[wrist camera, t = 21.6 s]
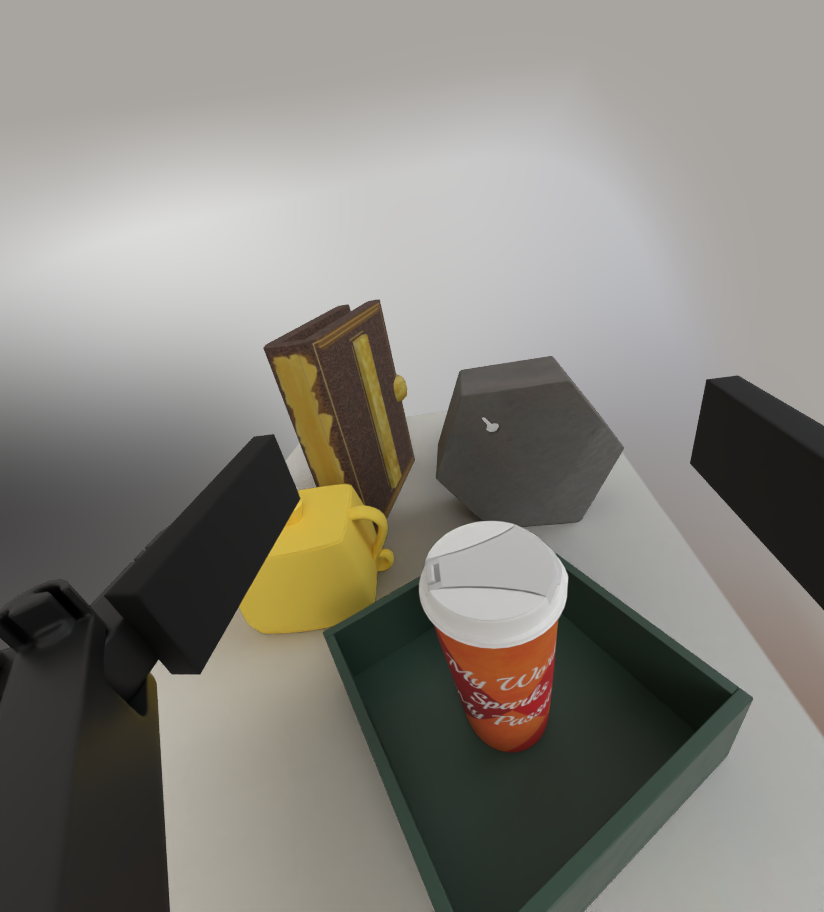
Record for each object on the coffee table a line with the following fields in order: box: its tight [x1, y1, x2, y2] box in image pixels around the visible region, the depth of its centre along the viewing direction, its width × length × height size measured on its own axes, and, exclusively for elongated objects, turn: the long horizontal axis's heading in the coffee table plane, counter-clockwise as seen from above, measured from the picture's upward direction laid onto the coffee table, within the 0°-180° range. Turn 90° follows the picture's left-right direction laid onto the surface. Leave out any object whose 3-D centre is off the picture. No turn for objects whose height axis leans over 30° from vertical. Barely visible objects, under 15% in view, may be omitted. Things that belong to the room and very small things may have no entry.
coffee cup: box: [419, 521, 568, 752], centre depth 25 cm, size 8×8×15 cm
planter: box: [436, 356, 624, 527], centre depth 45 cm, size 17×8×21 cm
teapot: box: [239, 484, 394, 634], centre depth 41 cm, size 20×12×12 cm, turn 92°
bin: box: [323, 523, 753, 912], centre depth 28 cm, size 19×19×7 cm
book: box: [264, 300, 415, 534], centre depth 52 cm, size 22×8×25 cm, turn 164°
